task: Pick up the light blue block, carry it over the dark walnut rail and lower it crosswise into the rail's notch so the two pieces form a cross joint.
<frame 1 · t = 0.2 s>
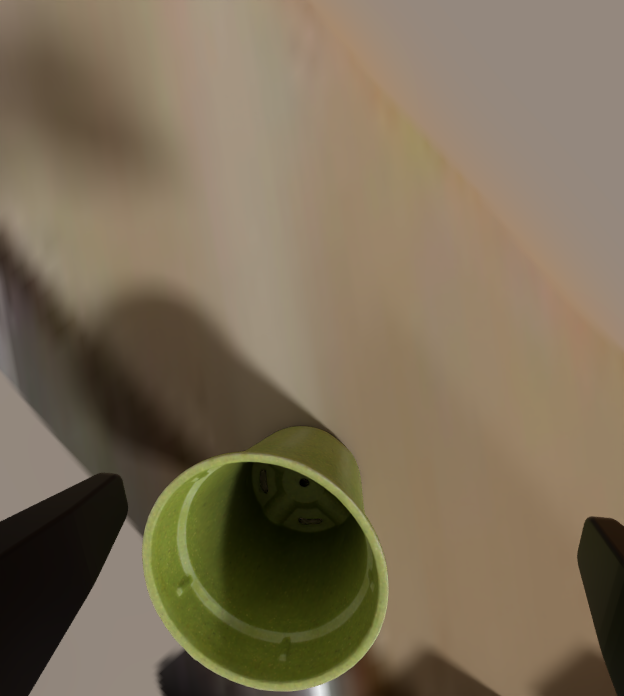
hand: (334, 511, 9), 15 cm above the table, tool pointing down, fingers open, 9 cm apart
plant pot: (304, 477, 26), on the table
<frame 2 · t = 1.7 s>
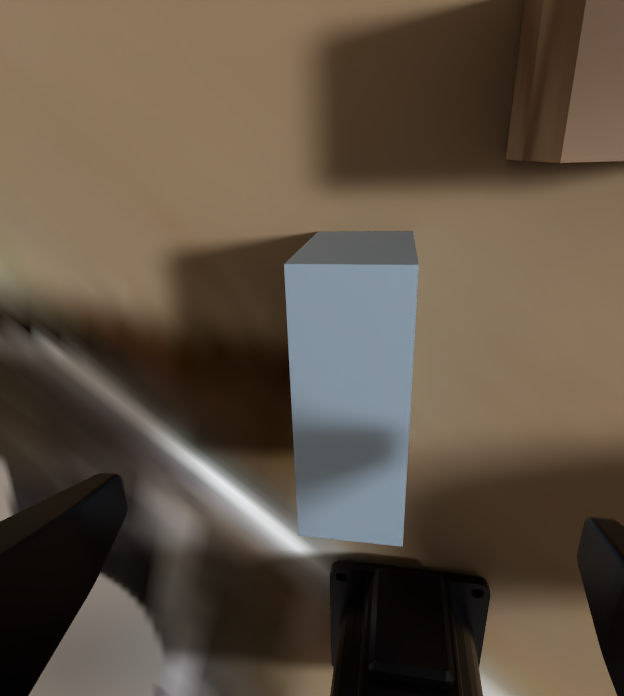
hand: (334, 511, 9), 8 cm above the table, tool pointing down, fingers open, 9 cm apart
light blue block: (363, 346, 16), on the table
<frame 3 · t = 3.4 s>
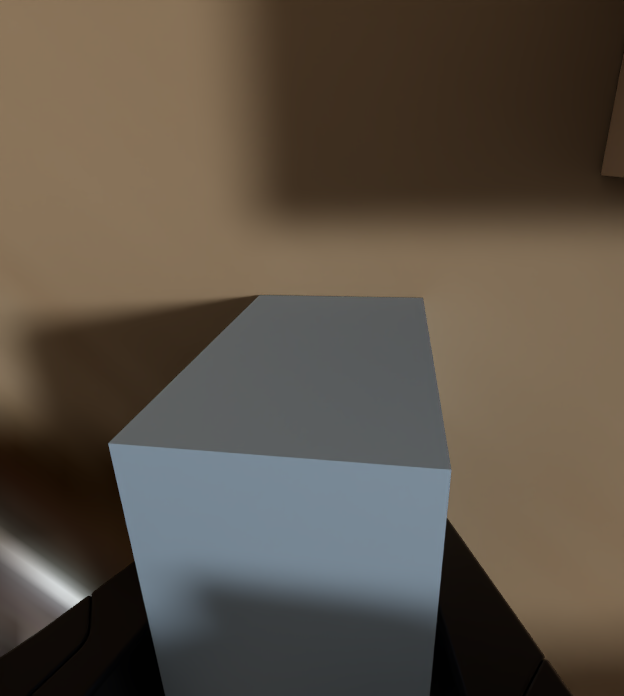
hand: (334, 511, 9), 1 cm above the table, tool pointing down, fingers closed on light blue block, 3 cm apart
light blue block: (340, 477, 10), on the table, touching gripper
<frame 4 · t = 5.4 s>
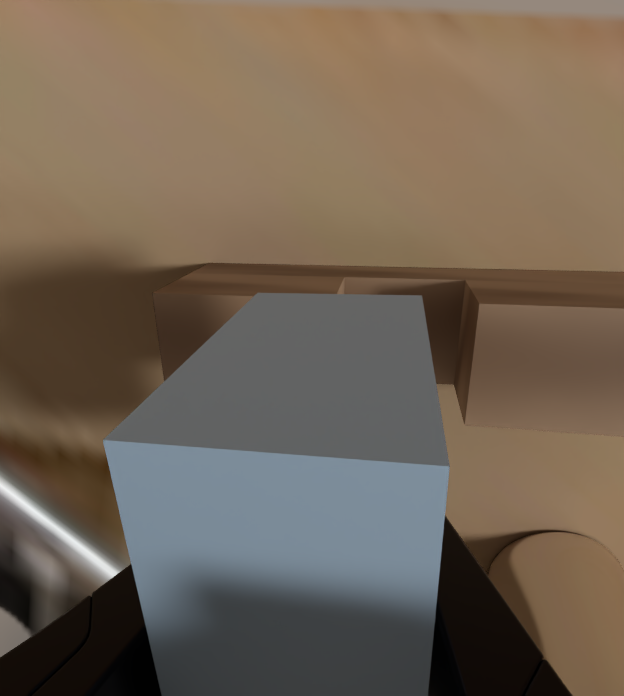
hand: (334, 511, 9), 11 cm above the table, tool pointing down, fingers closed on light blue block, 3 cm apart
light blue block: (339, 476, 10), point 10 cm above the table, touching gripper
beer glass: (552, 577, 23), on the table
rail: (400, 316, 19), on the table
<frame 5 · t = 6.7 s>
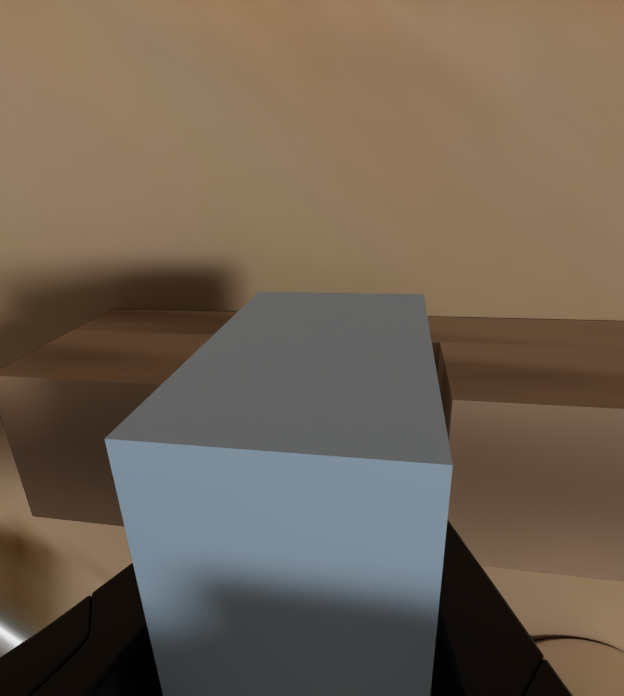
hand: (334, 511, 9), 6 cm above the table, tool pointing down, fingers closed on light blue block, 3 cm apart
light blue block: (340, 475, 10), point 5 cm above the table, touching gripper
beer glass: (565, 686, 18), on the table
rail: (360, 376, 14), on the table
when the fingers open (5 cm above the table, at t = 7.5 s): light blue block drops 2 cm, resting on rail.
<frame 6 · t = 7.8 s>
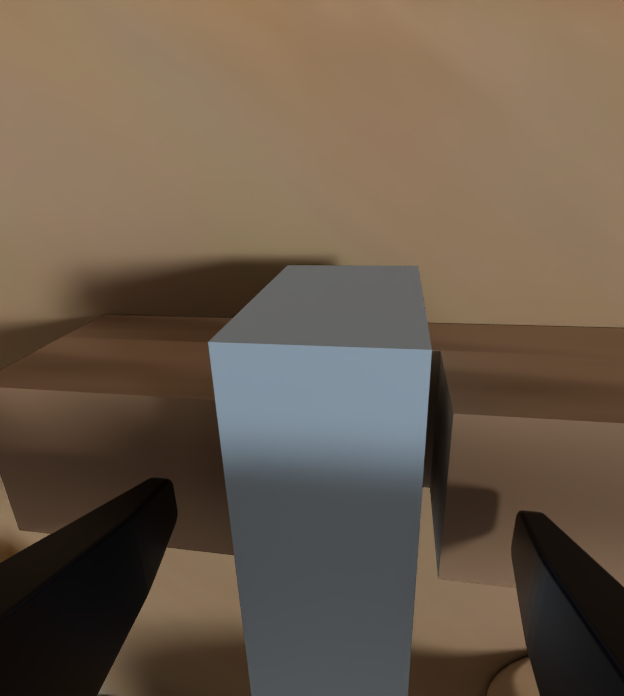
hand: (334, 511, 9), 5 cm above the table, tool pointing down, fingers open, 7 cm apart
light blue block: (351, 417, 12), point 2 cm above the table, touching rail
rail: (358, 384, 14), on the table
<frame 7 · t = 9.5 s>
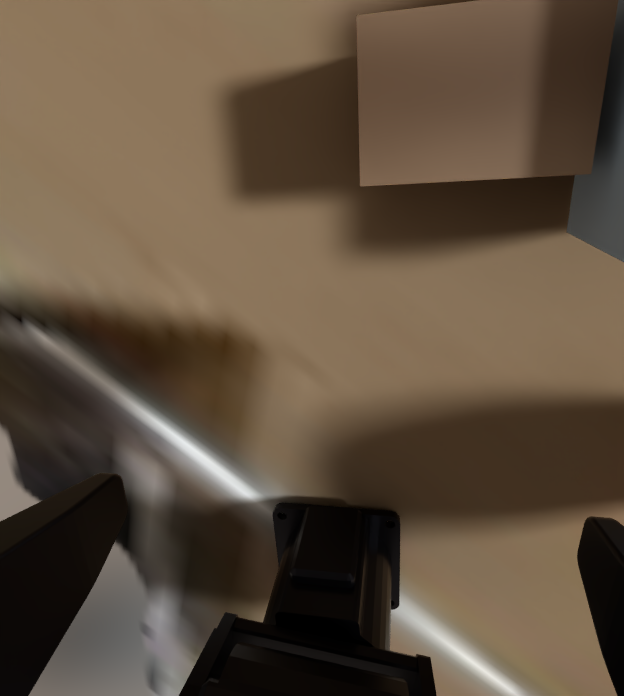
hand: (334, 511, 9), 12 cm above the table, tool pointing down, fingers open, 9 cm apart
rail: (615, 96, 15), on the table
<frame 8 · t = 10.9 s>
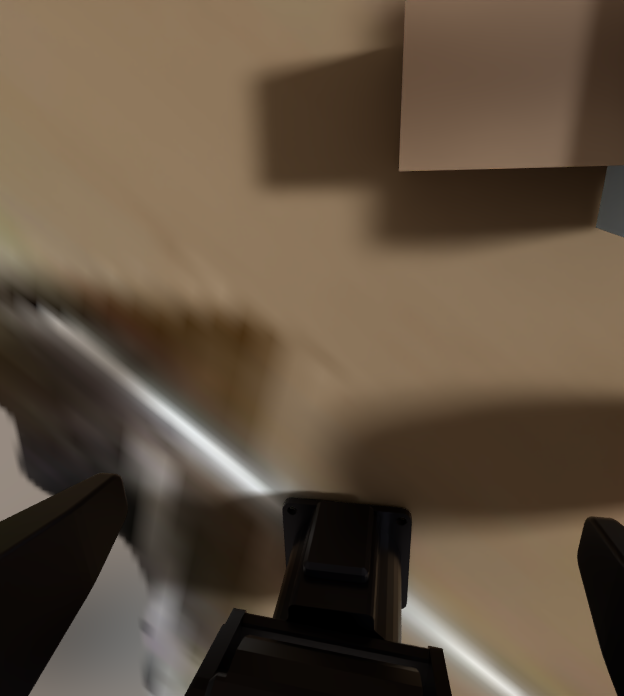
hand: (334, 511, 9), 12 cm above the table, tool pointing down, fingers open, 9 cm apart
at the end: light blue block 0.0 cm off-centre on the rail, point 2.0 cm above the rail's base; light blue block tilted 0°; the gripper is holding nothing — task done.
